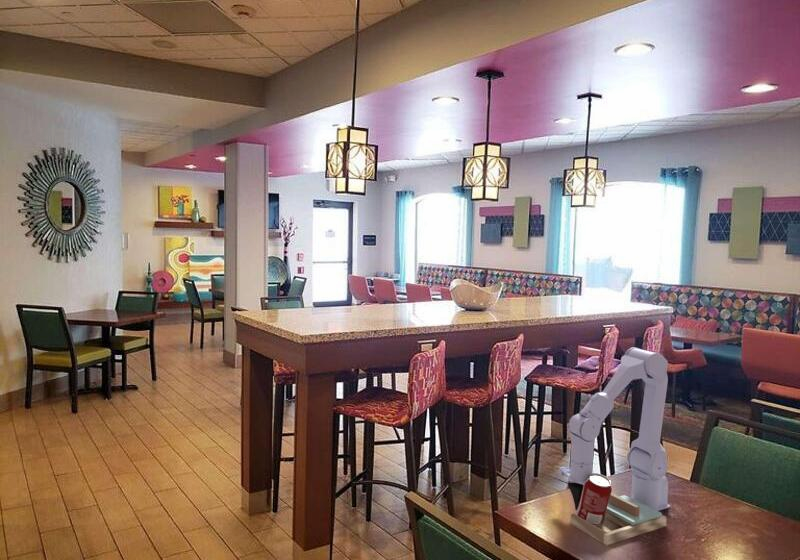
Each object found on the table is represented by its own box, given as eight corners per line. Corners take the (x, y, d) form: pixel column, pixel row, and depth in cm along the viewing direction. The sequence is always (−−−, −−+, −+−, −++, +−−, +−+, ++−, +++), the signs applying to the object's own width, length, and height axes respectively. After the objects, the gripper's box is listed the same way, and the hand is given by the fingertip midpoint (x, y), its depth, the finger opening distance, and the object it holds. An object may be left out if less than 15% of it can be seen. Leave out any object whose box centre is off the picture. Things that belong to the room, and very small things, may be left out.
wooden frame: (624, 505, 161) (625, 496, 161) (666, 526, 149) (666, 516, 149) (567, 521, 151) (567, 512, 150) (606, 545, 139) (607, 535, 139)
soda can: (602, 530, 147) (614, 491, 143) (575, 522, 149) (586, 482, 145) (602, 514, 153) (613, 476, 150) (576, 506, 155) (586, 468, 151)
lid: (624, 497, 159) (624, 486, 159) (661, 516, 149) (662, 503, 149) (596, 505, 154) (596, 493, 154) (632, 525, 144) (633, 512, 144)
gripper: (551, 453, 158) (549, 501, 159) (591, 472, 145) (589, 525, 146) (570, 449, 161) (568, 497, 162) (611, 468, 148) (608, 519, 149)
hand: (579, 510), depth 154 cm, fingers closed, pressing on soda can
